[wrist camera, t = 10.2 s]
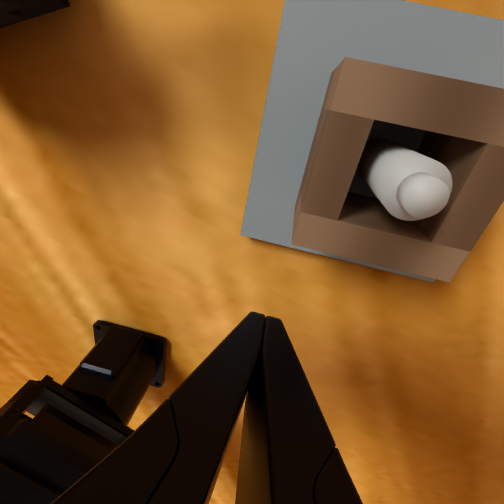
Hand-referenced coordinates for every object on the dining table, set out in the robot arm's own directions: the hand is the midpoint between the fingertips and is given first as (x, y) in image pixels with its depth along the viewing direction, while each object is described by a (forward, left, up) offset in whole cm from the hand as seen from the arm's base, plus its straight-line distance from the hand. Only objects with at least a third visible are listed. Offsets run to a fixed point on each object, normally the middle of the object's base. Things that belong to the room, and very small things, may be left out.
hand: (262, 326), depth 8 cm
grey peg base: (+4, -4, -11) cm, 12 cm away
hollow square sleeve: (+4, -4, -10) cm, 11 cm away
